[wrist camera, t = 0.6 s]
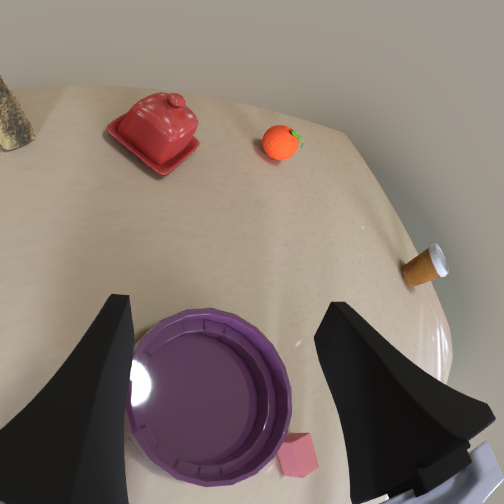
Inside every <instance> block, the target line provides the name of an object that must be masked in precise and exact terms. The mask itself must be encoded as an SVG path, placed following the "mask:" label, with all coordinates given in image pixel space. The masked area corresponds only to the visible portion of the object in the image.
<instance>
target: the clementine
mask: <svg viewBox="0 0 504 504" xmlns="http://www.w3.org/2000/svg"><path fill="white" fill-rule="evenodd" d="M298 138H299V139H300V140H301V138H300V136H299V135H298V134H297V133H296V132H294V131H293V130H292V129H291V128H290V127H287V126H283V125H276V126H273V127H271V128H270V129H268V130H267V131H266V133H265V134H264V136H263V139H262V145H263V148H264V151H265V152H266V154H267V155H268V156H270V157H271V158H273V159H276V160H285V159H288V158H290V157H291V156H293V155H294V153H295V152H296V151H297V148H298ZM301 141H302V140H301ZM302 144H303V143H302ZM301 147H302V146H301Z"/></svg>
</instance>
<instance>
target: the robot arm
mask: <svg viewBox="0 0 504 504" xmlns="http://www.w3.org/2000/svg"><path fill="white" fill-rule="evenodd" d="M314 341H315V346H316V351H317V355H318V359H319V362H320V365H321V368H322V370H323V373H324V376H325V378H326V381H327V384H328V386H329V389H330V391H331V394H332V397H333V399H334V402H335V405H336V408H337V411H338V414H339V418H340V422H341V426H342V430H343V435H344V440H345V446H346V451H347V458H348V466H349V477H350V498H351V501H352V504H361V503H364V502H367V501H369V500H372V499H375V498H378V497H380V496H383V495H385V494H388V497H389V499H388V500H386V501H384V502H382V503H379V504H483V502H484V501H485V500H486V498H487V497H488V496H489V495H490V494H491V493H492V492H493V490H494V489H495V488H496V487H497V486H498V485H499V484H500V483H501V482H502V481H503V480H504V477H503V474H502V472H501V470H500V468H499V465H498V463H497V460H496V458H495V456H494V454H493V451H492V449H491V447H490V445H489V443H488V441H485V442H483V443H482V444H480V445H479V446H477V447H476V448H474V449H473V450H472V451H471V452H469V453H468V451H467V449H468V448H470V446H471V445H470V443H469V440H470V439H471V438H473V437H475V436H476V435H477V434H479V433H480V432H481V431H483V430H484V429H485V428H487V427H488V426H489V425H490V424H492V423H493V422H494V421H495V419H496V418H495V416H494V414H493V412H492V411H491V409H490V407H489V406H488V404H487V403H484V402H481V401H479V400H476V399H474V398H471V397H469V396H466V395H464V394H462V393H460V392H458V391H456V390H454V389H452V388H450V387H449V386H447V385H445V384H443V383H442V382H440V381H439V380H437V379H435V378H434V377H432V376H431V375H429V374H428V373H426V372H425V371H423V370H422V369H421V368H419V367H418V366H417V365H415V364H414V363H413V362H411V361H410V360H409V359H408V358H406V357H405V356H404V355H403V354H402V353H400V352H399V351H398V350H397V349H396V348H395V347H393V346H392V345H391V344H390V343H389V342H388V341H387V340H386V339H385V338H384V337H382V336H381V335H380V334H379V333H378V332H377V331H376V330H375V329H374V328H373V327H372V326H371V325H370V324H369V323H368V322H367V321H366V320H364V319H363V318H362V317H361V316H360V315H359V314H358V313H357V312H356V311H355V310H354V309H353V308H351V307H350V306H349V305H348V304H347V303H346V302H331V303H330V305H329V307H328V309H327V311H326V313H325V316H324V318H323V320H322V322H321V324H320V326H319V328H318V330H317V332H316V334H315V336H314ZM133 350H134V329H133V322H132V314H131V306H130V298H129V295H119V294H111V295H110V296H109V297H108V299H107V301H106V302H105V304H104V306H103V307H102V309H101V310H100V312H99V314H98V315H97V317H96V318H95V320H94V321H93V323H92V324H91V326H90V327H89V329H88V330H87V332H86V333H85V334H84V336H83V337H82V339H81V340H80V342H79V343H78V345H77V346H76V347H75V349H74V350H73V351H72V353H71V354H70V355H69V357H68V358H67V359H66V361H65V362H64V363H63V365H62V366H61V367H60V369H59V370H58V371H57V372H56V374H55V375H54V376H53V377H52V378H51V379H50V381H49V382H48V383H47V384H46V385H45V386H44V388H43V389H42V390H41V391H40V392H39V393H38V394H37V395H36V396H35V397H34V399H33V400H32V401H31V402H30V403H29V404H28V405H27V406H26V407H25V408H24V409H23V410H22V411H20V412H19V413H18V414H17V415H16V416H15V417H14V418H13V419H12V420H11V421H10V422H9V423H8V424H7V425H5V426H4V427H3V428H2V429H1V430H0V504H129V502H128V495H127V486H126V476H125V460H124V417H125V409H126V401H127V394H128V388H129V381H130V375H131V369H132V363H133Z"/></svg>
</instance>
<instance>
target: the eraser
mask: <svg viewBox="0 0 504 504" xmlns="http://www.w3.org/2000/svg"><path fill="white" fill-rule="evenodd" d="M277 453H278V457H279V460H280V463H281V467H282V470H283V474H284V476H290V477H297V478H303V477H305V476H306V475H308V474H309V473H311V472H312V471H314V470H315V469H317V468H318V467H319V466H318V462H317V458H316V455H315V451H314V447H313V443H312V440H311V436H310V433H291V434H289V435H287V436H286V438H285V440H284V442H283V443H282V445H281V447H280V449H279V450H278V452H277Z"/></svg>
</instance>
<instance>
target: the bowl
mask: <svg viewBox="0 0 504 504" xmlns="http://www.w3.org/2000/svg"><path fill="white" fill-rule="evenodd" d="M291 413H292V398H291V386H290V383H289V379H288V375H287V372H286V368H285V365H284V364H283V362H282V360H281V358H280V357H279V355H278V353H277V351H276V349H275V348H274V346H273V344H272V343H271V342H270V341H269V340H268V339H267V338H266V337H265V336H264V335H263V334H262V333H261V332H260V331H259V329H258V328H257V327H255V326H253V325H252V324H250V323H249V322H247V321H245V320H244V319H242V318H240V317H239V316H237V315H235V314H232V313H228V312H224V311H220V310H217V309H213V308H207V309H191V310H184V311H182V312H180V313H177V314H175V315H173V316H171V317H168V318H166V319H164V320H162V321H160V322H159V323H157V324H156V325H155V326H153V327H152V328H151V329H149V330H148V331H147V332H146V333H145V334H144V335H143V336H142V337H141V338H140V339H139V340H138V341H137V342H136V343H135V344H134V350H133V363H132V369H131V375H130V381H129V388H128V394H127V401H126V409H125V417H124V430H125V432H126V433H127V435H128V437H129V438H130V440H131V441H132V443H133V444H134V445H135V447H136V448H137V450H138V451H139V453H140V454H141V455H142V456H144V457H145V458H146V459H148V460H149V461H150V462H152V463H153V464H154V465H156V466H157V467H158V468H160V469H161V470H163V471H164V472H166V473H167V474H169V475H171V476H172V477H174V478H176V479H178V480H181V481H184V482H188V483H192V484H195V485H199V486H203V487H213V486H226V485H233V484H236V483H238V482H240V481H243V480H245V479H247V478H249V477H252V476H254V475H256V474H257V473H258V472H259V471H260V470H261V469H263V468H264V467H265V466H266V465H267V464H268V463H269V462H270V461H271V460H272V459H273V458H274V457H275V455H276V454H277V452H278V450H279V449H280V447H281V445H282V443H283V442H284V440H285V438H286V435H287V431H288V427H289V423H290V419H291V415H292V414H291Z"/></svg>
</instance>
